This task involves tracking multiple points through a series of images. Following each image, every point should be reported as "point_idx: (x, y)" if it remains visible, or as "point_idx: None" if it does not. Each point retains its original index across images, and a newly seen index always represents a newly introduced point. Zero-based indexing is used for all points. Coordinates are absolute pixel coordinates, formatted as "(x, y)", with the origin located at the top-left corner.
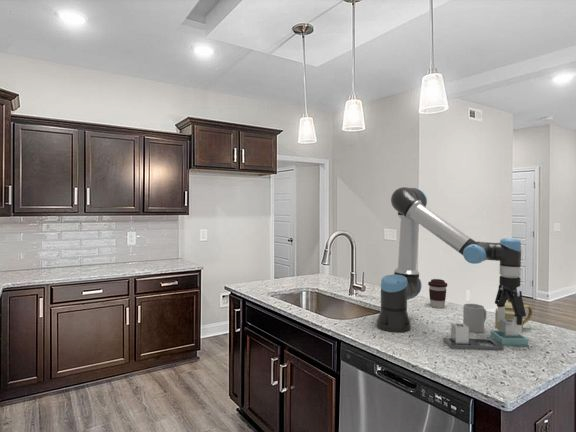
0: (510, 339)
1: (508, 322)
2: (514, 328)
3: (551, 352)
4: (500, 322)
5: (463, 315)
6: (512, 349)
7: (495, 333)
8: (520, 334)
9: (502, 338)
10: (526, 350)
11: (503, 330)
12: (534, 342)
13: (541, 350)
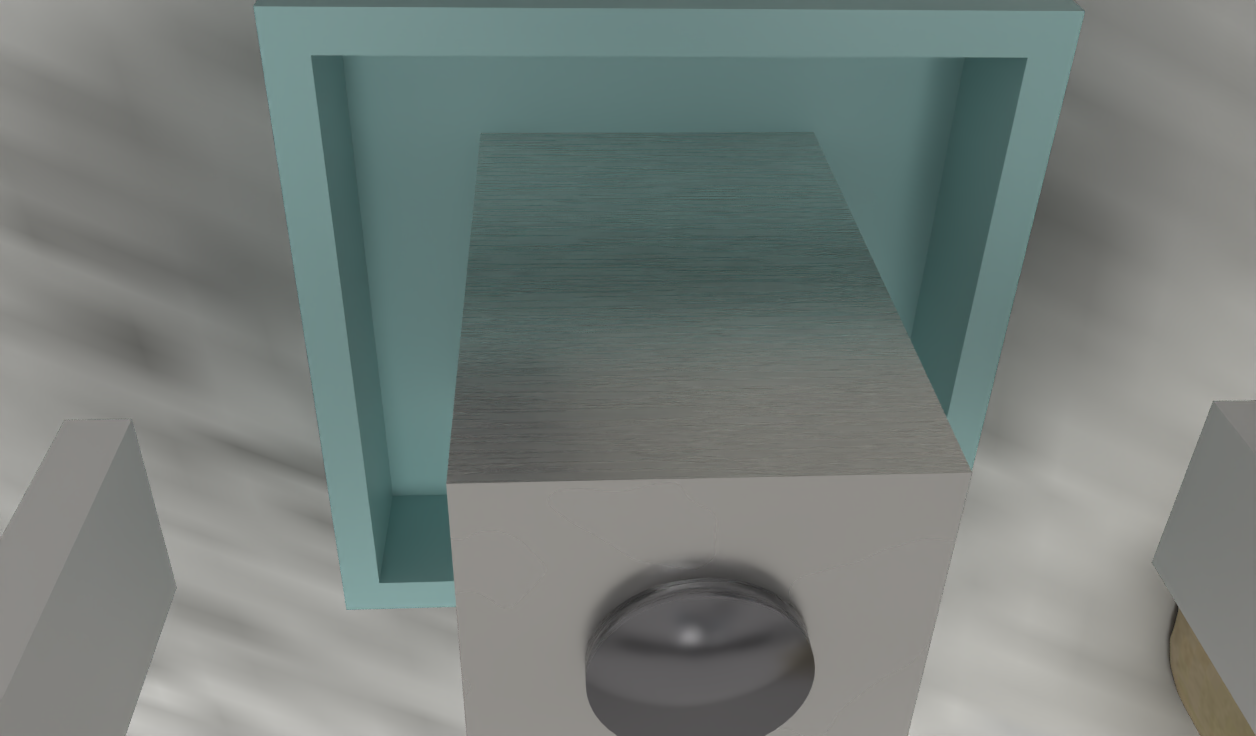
0: (290, 234)
1: (457, 564)
2: (32, 514)
3: None
4: (890, 390)
5: None
6: (23, 79)
7: (756, 25)
8: None
9: (260, 20)
10: (61, 358)
11: (623, 271)
12: None
13: None
